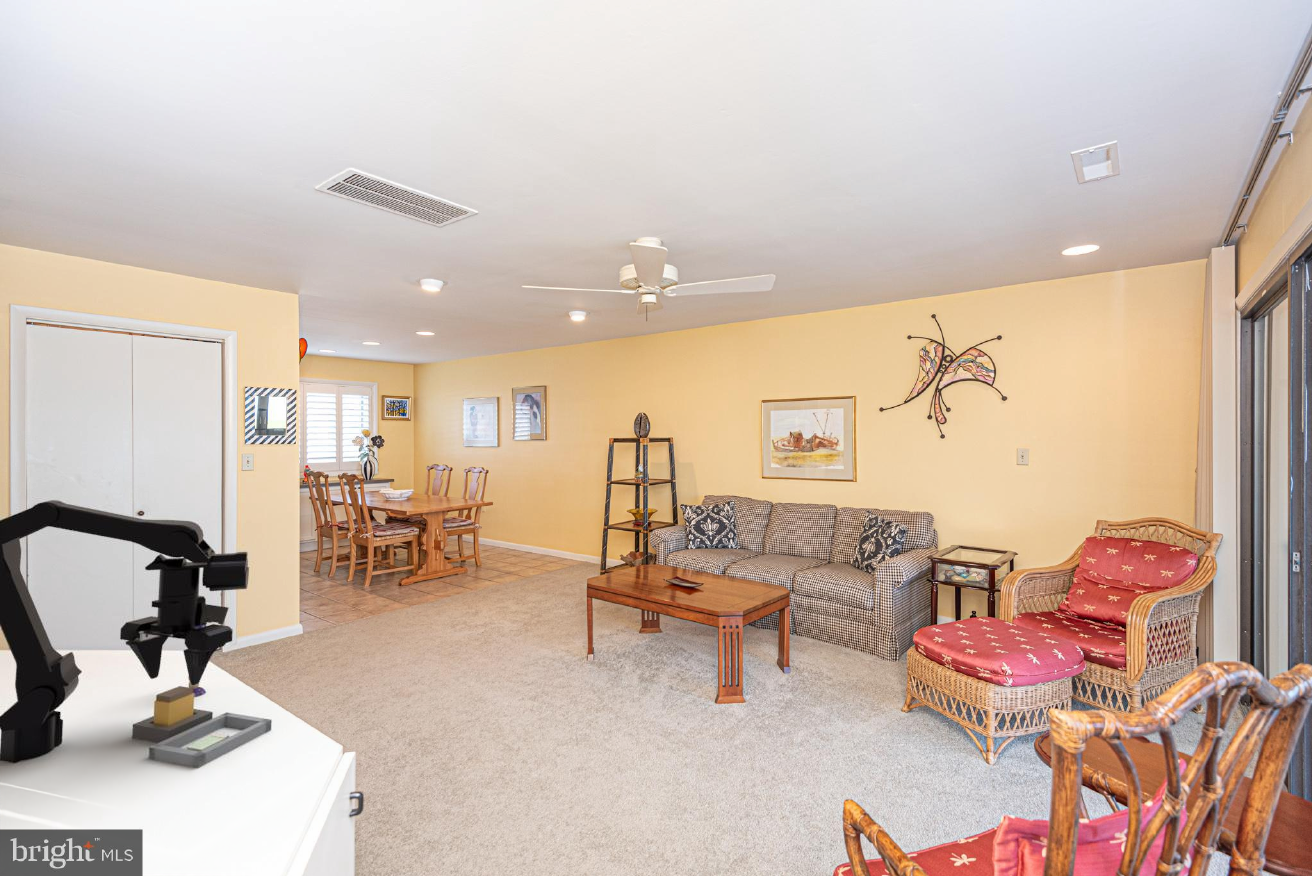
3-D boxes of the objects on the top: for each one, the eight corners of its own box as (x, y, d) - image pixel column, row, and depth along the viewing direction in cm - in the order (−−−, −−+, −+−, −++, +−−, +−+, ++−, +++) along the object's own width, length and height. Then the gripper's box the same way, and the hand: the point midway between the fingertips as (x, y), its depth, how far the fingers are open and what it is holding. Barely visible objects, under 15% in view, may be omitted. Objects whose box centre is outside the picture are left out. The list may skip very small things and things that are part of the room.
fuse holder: (168, 748, 107) (169, 730, 107) (132, 741, 108) (132, 724, 108) (211, 728, 114) (212, 711, 114) (177, 722, 116) (177, 706, 116)
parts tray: (197, 772, 99) (198, 756, 100) (148, 762, 102) (149, 747, 102) (271, 733, 113) (271, 719, 113) (225, 726, 115) (226, 712, 115)
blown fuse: (167, 738, 109) (169, 697, 109) (153, 735, 109) (154, 695, 110) (192, 726, 113) (194, 687, 113) (178, 724, 114) (180, 685, 114)
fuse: (201, 762, 102) (201, 749, 102) (186, 759, 102) (186, 746, 102) (229, 747, 107) (229, 735, 107) (214, 745, 107) (215, 732, 107)
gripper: (260, 588, 117) (256, 672, 117) (181, 579, 122) (177, 660, 121) (204, 602, 106) (200, 694, 106) (120, 592, 111) (115, 680, 111)
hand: (174, 681), depth 111 cm, fingers open, 9 cm apart
